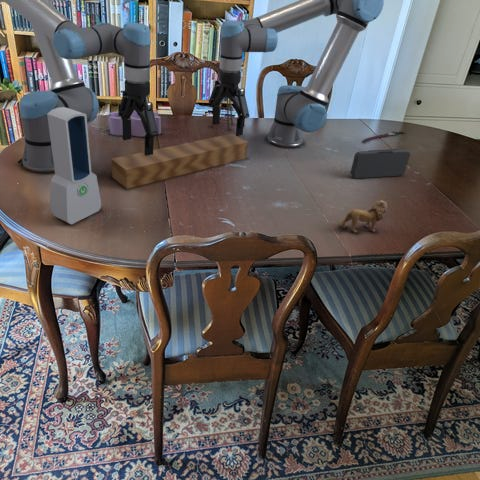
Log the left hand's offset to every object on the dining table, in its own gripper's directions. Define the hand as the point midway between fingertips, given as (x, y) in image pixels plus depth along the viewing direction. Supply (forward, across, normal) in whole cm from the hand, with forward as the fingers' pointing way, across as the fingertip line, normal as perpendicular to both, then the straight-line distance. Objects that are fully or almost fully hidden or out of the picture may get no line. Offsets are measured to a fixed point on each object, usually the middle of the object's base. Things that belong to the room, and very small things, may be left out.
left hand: (137, 146), depth 151 cm
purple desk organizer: (+12, +38, -21) cm, 45 cm away
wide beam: (+11, -1, -18) cm, 21 cm away
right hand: (0, -1, -37) cm, 37 cm away
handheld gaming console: (+9, -43, -78) cm, 89 cm away
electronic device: (+11, -12, +27) cm, 32 cm away
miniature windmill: (+11, +27, -59) cm, 66 cm away
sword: (+10, -19, -118) cm, 120 cm away
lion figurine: (+9, -64, -40) cm, 76 cm away
